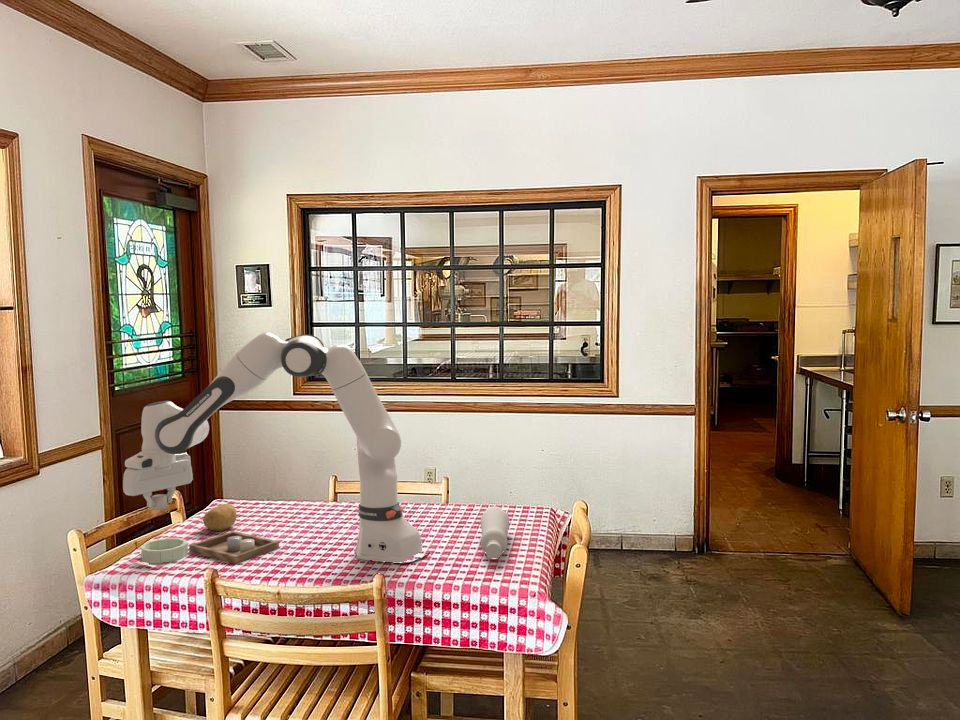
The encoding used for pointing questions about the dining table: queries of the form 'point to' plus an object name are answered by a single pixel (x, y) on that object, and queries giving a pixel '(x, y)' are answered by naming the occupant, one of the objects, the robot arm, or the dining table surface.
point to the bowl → (164, 550)
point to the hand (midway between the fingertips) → (159, 504)
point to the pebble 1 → (160, 502)
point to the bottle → (494, 531)
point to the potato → (220, 517)
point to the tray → (219, 551)
